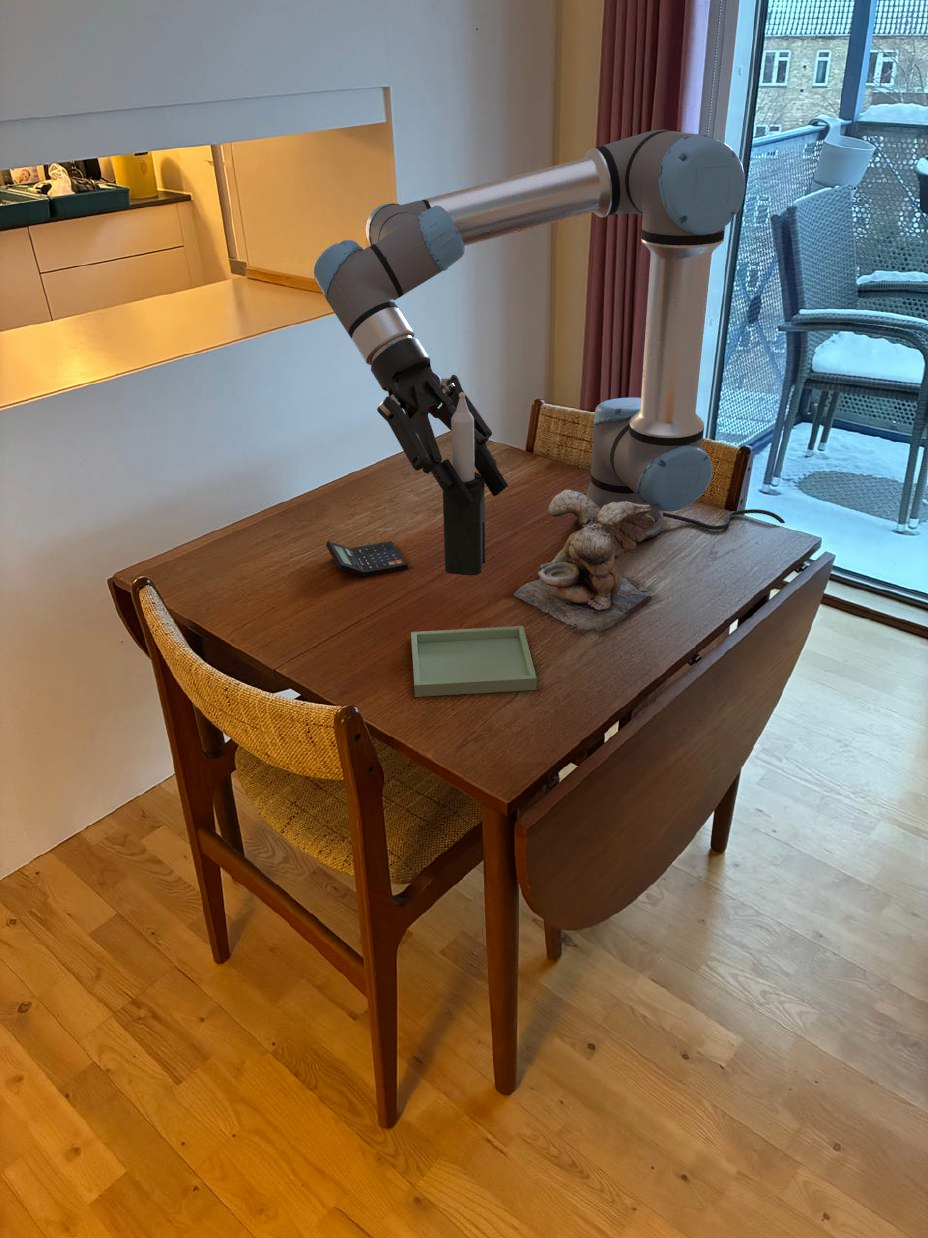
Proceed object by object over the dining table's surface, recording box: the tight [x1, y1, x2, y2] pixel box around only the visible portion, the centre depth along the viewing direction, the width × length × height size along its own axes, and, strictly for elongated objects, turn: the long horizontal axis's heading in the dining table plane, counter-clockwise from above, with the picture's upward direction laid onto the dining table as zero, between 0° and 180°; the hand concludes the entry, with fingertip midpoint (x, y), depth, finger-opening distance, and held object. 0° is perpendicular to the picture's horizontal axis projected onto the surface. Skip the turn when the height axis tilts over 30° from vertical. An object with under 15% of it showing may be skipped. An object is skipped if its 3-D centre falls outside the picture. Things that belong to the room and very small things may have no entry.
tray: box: [410, 625, 538, 698], centre depth 136 cm, size 17×14×2 cm
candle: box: [442, 392, 486, 577], centre depth 128 cm, size 5×5×25 cm
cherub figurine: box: [512, 489, 655, 634], centre depth 148 cm, size 18×18×18 cm
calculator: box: [325, 540, 409, 578], centre depth 163 cm, size 9×12×3 cm
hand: (484, 498), depth 127 cm, fingers closed on candle, 6 cm apart
